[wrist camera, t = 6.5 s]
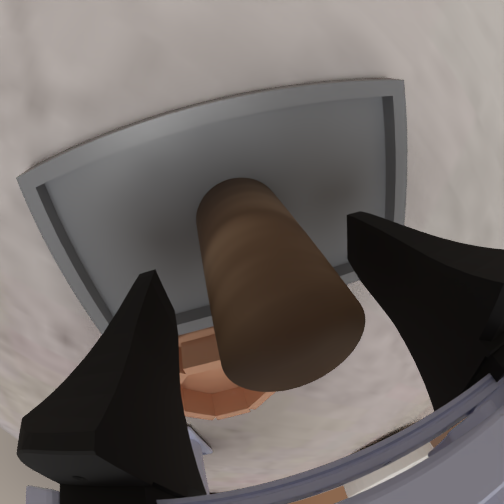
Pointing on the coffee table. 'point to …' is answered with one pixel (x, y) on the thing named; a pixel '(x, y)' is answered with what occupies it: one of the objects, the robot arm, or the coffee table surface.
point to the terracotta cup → (210, 380)
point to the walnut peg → (271, 291)
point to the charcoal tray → (210, 174)
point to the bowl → (388, 471)
